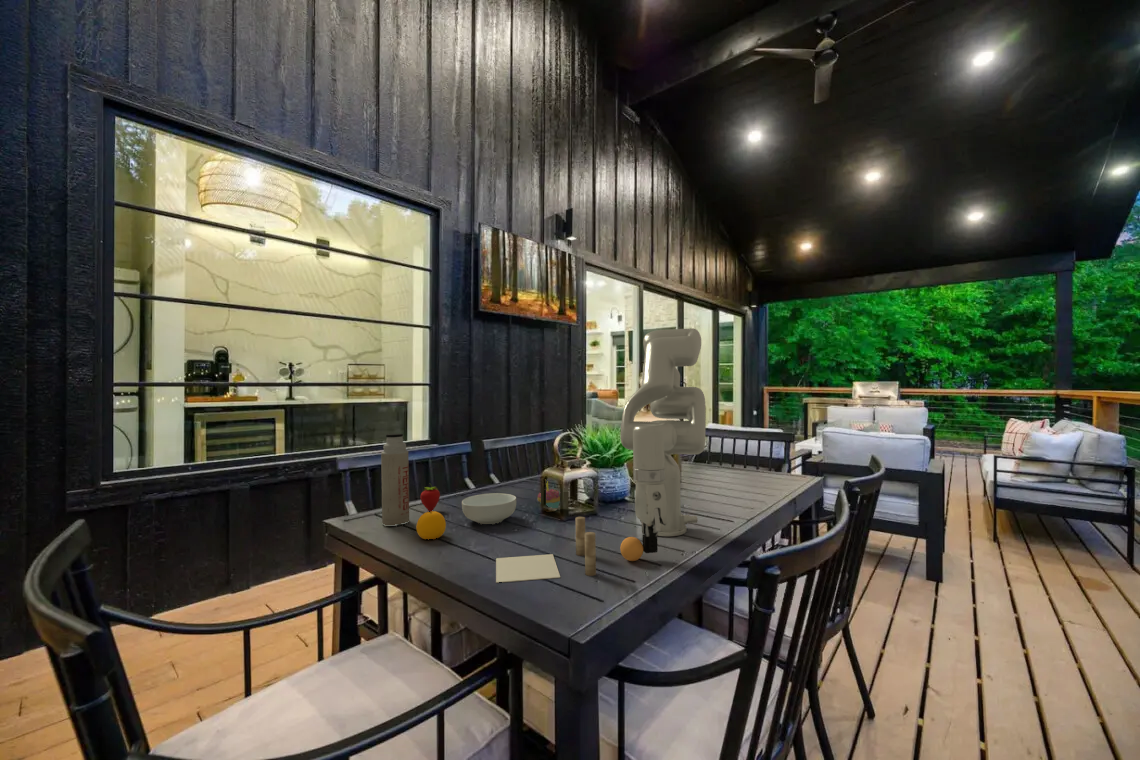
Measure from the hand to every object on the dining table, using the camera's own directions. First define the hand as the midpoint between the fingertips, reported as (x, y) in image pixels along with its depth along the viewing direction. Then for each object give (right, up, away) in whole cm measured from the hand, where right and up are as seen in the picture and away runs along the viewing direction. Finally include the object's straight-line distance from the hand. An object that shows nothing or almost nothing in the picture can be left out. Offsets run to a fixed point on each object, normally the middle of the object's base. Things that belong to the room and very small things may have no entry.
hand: (650, 551), depth 114 cm
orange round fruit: (-58, -3, +19) cm, 61 cm away
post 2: (-15, -2, -8) cm, 17 cm away
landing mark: (-30, -2, -4) cm, 30 cm away
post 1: (-17, -2, +4) cm, 17 cm away
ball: (-4, +1, 0) cm, 5 cm away
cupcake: (-26, -3, +45) cm, 52 cm away
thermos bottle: (-74, -4, +34) cm, 81 cm away
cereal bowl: (-45, -3, +34) cm, 56 cm away
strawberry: (-67, -4, +46) cm, 81 cm away
